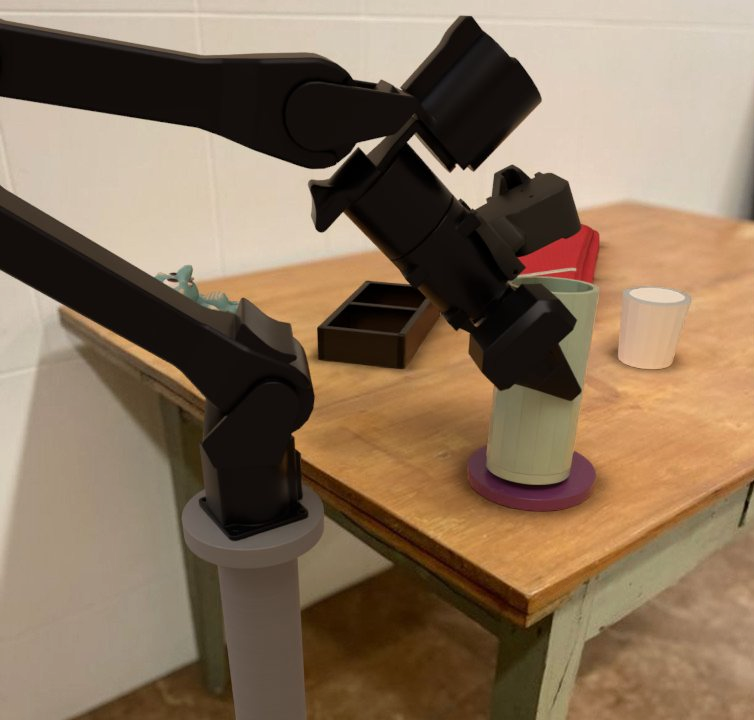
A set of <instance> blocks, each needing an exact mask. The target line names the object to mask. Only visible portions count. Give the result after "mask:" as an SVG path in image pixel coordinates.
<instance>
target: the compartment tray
mask: <svg viewBox="0 0 754 720" xmlns="http://www.w3.org/2000/svg"><path fill="white" fill-rule="evenodd" d="M440 316H441V312H440V311H439V310H438V309H437V308H436V307H435V306H434V305H433V304H432V303H431V302H430V301H429V300H428V299H427V298H426V297H425V296H424V295H423V294H422V293H421V292H420V290H419V289H418V288H417V289H416V290H415V289H414V288H413V287H412V286H411V285H410V284H409V283H399V282H387V281H375V280H365V281H364V282H363V283H362V284H361V285H360V286H359V287H358V288H357V289H356V290H355V291H354V292H353V293H351V294H350V295H349V296H348V297H347V298H346V299H345V300H344V301H343V302H342V303H341V304H340V305H339V306H338V307H337V308H336V309H334V311H333V312H332V313H331V314H329V316H328V317H326V319H324V320H323V322H321V323H320V324H319V325H318V326H317V327H316V334H317V335H316V336H317V337H316V338H317V360H318V361H319V360H320V361H329V362H338V363H347V364H356V365H363V366H365V365H366V366H374V367H382V368H383V367H384V368H391V369H393V368H394V369H399V370H401V369H402V370H404V369H406V367H407V365H408V364H409V362H410V361H411V359H412V357H413V356H414V355H415V353H416V352H417V351H418V349H419V347H420V346H421V345H422V344H423V341H424V340H425V338H426V337H427V336H428V334H429V333H430V331H431V330H432V329H433V327H434V325H435V324H436V322H437V321H438V319H439V318H440Z"/></svg>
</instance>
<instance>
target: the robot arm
mask: <svg viewBox="0 0 754 720" xmlns="http://www.w3.org/2000/svg"><path fill="white" fill-rule="evenodd" d="M0 98H5V99H13V100H19V101H25V102H31V103H38V104H44V105H50V106H57V107H63V108H68V109H69V108H70V109H75V110H82V111H88V112H94V113H100V114H107V115H112V116H113V115H114V116H121V117H126V118H131V119H133V118H134V119H138V120H145V121H151V122H158V123H164V124H170V125H177V126H183V127H189V128H194V129H195V128H196V129H199V130H202V131H205V132H207V133H211V134H213V135H216V136H219V137H222V138H224V139H226V140H228V141H231V142H234V143H236V144H238V145H241V146H243V147H245V148H247V149H249V150H252V151H254V152H258V153H259V154H260V153H261V154H263V155H266V156H268V157H272V158H275V159H277V160H280V161H284V162H286V163H288V164H291V165H295V166H298V167H301V168H304V169H308V170H324V169H328V168H332V167H335V166H336V165H337V164H339V163H340V162H341V161H342V160H344V159H345V158H346V157H347V156H348V155H349V154H350V155H349V156H348V157H347V159H345V161H343V163H342V164H341V165H340V166H339V167H338V168H337V170H336V171H335V172H334V173H333V174H331V176H330V177H329V178H327V179H314V178H311V179H309V180H308V182H307V186H308V189H309V193H310V197H311V210H310V218H311V220H312V223H313V226H314V228H315V231H317V232H318V233H325V232H327V231H328V229H329V228H330V227H331V226H333V224H334V223H335V222H336V221H337V220H338V218H339V217H340V216H341V215H342V214H344V215H345V216H346V217H347V218H348V219H349V220H350V221H351V222H352V223H353V224H354V225H355V226H356V227H357V228H358V229H359V230H360V231H361V233H362V234H364V235H365V236H366V238H367V239H369V240H370V242H371V243H372V244H374V246H375V247H376V248H377V249H378V250H379V251H380V252H381V253H382V254H383V255H384V256H385V257H386V258H387V259H388V260H389V261H390V262H391V264H393V265H394V267H396V269H398V270H399V272H400V273H401V275H402V276H403V278H404V279H405V281H406V282H407V284H410V285H411V286H412V287H413V288H414V289H415V290H416V289H417V288H418V289H419V290H420V292H421V293H422V294H423V295H424V296H425V297H426V298H427V299H428V300H429V301H430V302H431V303H432V304H433V305H434V306H435V307H436V308H437V309H438V310H439V311H440V315H441V316H442V317H443V318H444V320H445V321H446V323H448V325H449V326H450V327H451V328H453V330H454V331H455V332H458V331H459V330H462V331H464V332H467V333H468V334H469V337H468V338H469V342H468V351H467V354H468V355H469V357H470V358H471V359H472V361H473V362H474V364H475V365H476V366H477V368H478V369H479V371H480V373H481V374H482V375H483V376H484V377H485V378H486V379H487V380H488V381H489V382H490V383H491V384H492V385H493V387H494V386H495V387H496V388H497V389H498V390H499V391H503V390H507V389H510V388H511V387H512V386H513V385H514V384H516V385H519V386H523V387H527V388H530V389H533V390H537V391H540V392H543V393H546V394H549V395H552V396H555V397H558V398H561V399H564V400H567V401H572V400H574V399H575V398H576V397H577V396H578V395H579V394H580V393H581V392H582V389H581V387H580V385H579V383H578V381H577V379H576V377H575V375H574V373H573V371H572V369H571V367H570V365H569V363H568V361H567V360H566V358H565V356H564V353H563V351H562V349H561V347H560V345H559V343H560V342H561V341H562V340H563V339H564V338H565V337H566V336H567V335H568V334H569V333H570V332H572V331H573V330H574V327H575V325H576V322H577V319H576V318H575V317H574V316H573V314H572V313H571V312H570V311H569V310H568V309H567V308H566V306H565V305H564V304H563V303H562V302H561V301H560V299H558V298H557V297H556V296H555V295H554V294H553V293H552V292H551V291H549V290H548V289H547V288H546V287H545V286H544V285H543V284H542V283H537V284H521V285H520V286H519V287H518V288H517V289H516V290H515V289H514V288H513V287H512V286H511V285H510V284H509V283H508V281H509V280H510V281H513V280H514V279H515V278H516V277H517V276H518V275H519V274H520V273H521V272H522V271H523V270H524V269H525V268H526V267H525V266H524V264H523V263H522V262H521V261H520V260H519V259H518V258H517V257H523V256H526V255H529V254H531V253H533V252H535V251H537V250H539V249H541V248H543V247H545V246H547V245H549V244H551V243H553V242H555V241H557V240H559V239H561V238H564V239H568V238H570V237H572V236H574V235H575V234H577V233H578V232H579V231H580V230H581V228H582V226H581V224H582V223H581V220H580V217H579V212H578V209H577V205H576V201H575V199H574V195H573V192H572V189H571V185H570V182H569V180H567V179H565V178H564V177H562V176H559V175H557V174H555V173H553V172H545V173H542V172H541V171H538V172H536V173H534V174H533V176H534V177H532V178H531V177H530V176H529V175H528V174H527V173H525V171H523V169H521V168H520V167H518V166H517V165H515V164H510V165H508V166H505V167H503V168H502V169H500V170H498V171H496V172H494V174H493V180H492V187H491V189H492V190H491V196H489V197H486V198H485V202H486V203H484V204H482V205H481V206H479V207H477V208H476V209H474V208H471V207H470V205H468V203H466V201H465V200H464V199H462V198H459V199H457V198H456V196H455V195H454V193H452V192H451V190H449V188H448V187H447V186H446V185H445V183H444V182H443V181H442V180H441V179H440V178H439V177H438V176H437V174H436V173H435V172H434V171H433V170H432V169H431V168H430V167H429V166H428V164H427V163H426V162H425V161H424V160H423V158H422V157H421V156H420V155H419V154H418V153H417V152H416V150H415V149H414V148H413V147H412V145H410V144H409V143H408V142H409V141H411V139H412V138H413V137H414V136H415V138H417V140H419V142H420V143H421V145H423V147H424V148H425V149H426V150H427V152H429V153H430V155H431V156H432V157H433V158H434V159H435V160H436V161H437V162H438V163H439V165H440V166H442V167H443V169H444V170H446V172H448V174H451V173H452V172H453V171H454V170H456V168H457V166H458V167H459V168H460V169H461V170H462V171H465V170H467V169H469V170H470V171H471V172H473V173H474V172H476V171H477V170H478V169H479V168H480V167H481V165H483V163H484V162H485V161H486V160H487V159H488V158H490V156H491V155H492V154H493V153H494V152H495V151H496V150H497V149H498V148H499V147H500V146H501V145H502V143H504V142H505V140H507V139H508V137H510V135H511V134H513V132H514V131H515V130H516V129H518V127H519V126H520V125H521V124H522V123H523V122H524V121H525V120H526V119H527V118H528V117H529V116H530V115H531V114H532V112H534V110H535V109H536V108H538V107H539V105H540V104H541V103H542V102H543V101H542V100H543V99H542V95H541V92H540V90H539V89H538V86H537V85H536V83H535V82H534V80H533V78H532V77H531V75H530V74H529V73H528V71H527V70H526V69H525V67H524V66H523V64H522V63H521V62H520V61H519V59H517V58H516V57H514V56H510V55H509V53H508V52H507V51H506V50H505V49H504V48H503V47H502V45H500V44H499V43H498V42H497V41H496V40H495V39H494V38H493V37H492V36H491V35H490V34H489V33H487V32H486V31H485V30H483V28H482V27H481V25H479V23H478V21H476V19H475V17H473V15H458V16H457V18H456V19H455V20H454V21H453V22H452V23H451V25H450V26H449V27H448V28H447V29H446V31H445V32H444V33H443V35H442V37H441V39H440V41H439V42H438V44H437V45H436V47H435V48H434V49H433V50H432V51H431V52H430V53H429V55H427V56H426V58H425V59H423V61H422V62H421V63H420V65H419V66H418V67H417V68H416V69H415V70H414V71H413V72H412V73H411V74H410V76H408V78H407V79H406V80H405V81H404V82H403V83H402V85H401V86H400V87H399V88H398V87H396V86H395V85H394V84H392V83H390V82H388V81H386V80H384V79H381V78H380V80H379V81H378V82H372V81H367V80H360V79H353V77H352V76H351V74H350V72H348V71H347V70H346V69H345V68H344V67H343V66H341V65H340V64H338V63H337V62H335V61H333V60H331V59H329V58H328V57H327V56H323V55H321V54H318V53H316V52H308V51H307V52H305V51H304V52H303V51H302V52H301V51H300V52H257V53H255V52H253V53H238V54H237V53H236V54H235V53H234V54H197V53H192V52H186V51H180V50H176V49H169V48H163V47H159V46H153V45H146V44H142V43H136V42H131V41H124V40H118V39H114V38H109V37H102V36H95V35H90V34H84V33H79V32H73V31H68V30H62V29H56V28H51V27H45V26H39V25H34V24H29V23H22V22H17V21H11V20H6V19H3V18H0ZM381 138H383V139H382V140H381V141H380V142H379V143H378V144H377V145H376V146H374V147H373V148H372V150H370V151H369V152H368V153H367V154H366V153H365V152H364V150H362V149H361V148H360V147H359V146H357V147H356V145H357V144H360V143H363V142H368V141H372V140H373V141H374V140H376V139H381ZM355 147H356V148H355ZM354 148H355V149H354ZM353 150H354V151H353ZM456 165H457V166H456ZM0 271H1V272H3V273H4V274H6V275H8V276H10V277H11V278H13V279H15V280H18V281H19V282H21V283H23V284H24V285H26V286H28V287H30V288H32V289H34V290H35V291H37V292H39V293H41V294H43V295H44V296H45V297H48V298H50V299H51V300H53V301H55V302H57V303H58V304H61V305H62V306H64V307H66V308H68V309H70V310H72V311H73V312H75V313H77V314H79V315H81V316H83V317H84V318H86V319H88V320H90V321H92V322H93V323H96V324H97V325H98V326H101V327H103V328H104V329H106V330H108V331H110V332H112V333H113V334H116V336H118V337H121V338H123V339H124V340H126V341H128V342H129V343H131V344H133V345H135V346H137V347H139V348H141V349H142V350H144V351H146V352H148V353H150V354H151V355H154V356H155V357H157V358H158V359H161V360H163V361H164V362H166V363H168V364H170V365H171V366H173V367H175V368H176V369H177V370H179V371H180V372H181V373H182V375H184V377H185V378H186V379H187V380H188V381H189V382H190V383H191V384H192V385H193V386H194V388H196V390H197V391H198V392H199V393H200V394H201V395H202V396H203V397H204V398H205V399H204V400H205V402H204V412H203V426H202V427H203V428H202V439H201V440H199V441H198V444H199V452H200V459H201V460H200V461H201V468H202V477H203V484H204V489H205V493H206V496H205V497H202V498H200V499H199V506H200V507H201V508H202V509H203V510H204V512H205V513H206V514H207V515H208V516H209V517H210V518H211V519H212V521H213V522H214V523H215V524H216V525H217V526H218V527H219V529H220V530H221V531H222V532H223V533H224V534H225V535H226V536H227V538H228V539H229V540H231V541H239V540H242V539H245V538H248V537H251V536H254V535H257V534H260V533H263V532H266V531H269V530H273V529H276V528H279V527H282V526H285V525H288V524H291V523H294V522H297V521H300V520H304V519H306V518H308V516H309V515H308V510H307V509H306V508H305V507H304V506H303V505H302V504H301V503H300V502H299V500H301V499H302V498H303V484H304V483H303V465H302V452H300V451H299V450H298V449H296V437H295V436H294V435H293V433H295V432H297V431H298V430H300V429H301V428H302V427H303V426H304V425H305V424H306V423H307V422H308V421H309V419H310V417H311V416H312V413H313V411H314V408H315V399H316V395H315V391H314V385H313V381H312V376H311V371H310V366H309V365H310V364H309V360H308V357H307V353H306V351H305V348H304V347H303V345H302V344H301V342H300V341H299V340H298V339H297V338H296V337H295V336H294V332H293V328H292V324H291V323H290V322H286V321H279V320H277V319H275V318H273V317H270V316H269V315H267V314H266V313H265V312H263V311H262V310H261V309H260V308H259V307H258V306H256V305H255V304H254V303H253V301H250V300H249V299H247V298H245V297H241V298H240V299H239V301H240V302H239V305H238V307H237V310H236V312H235V314H233V313H228V312H223V311H218V310H213V309H210V308H207V307H204V306H202V305H200V304H198V303H196V302H195V301H193V300H191V299H190V298H188V297H186V296H185V295H183V294H181V293H180V292H178V291H176V290H175V289H173V288H171V287H170V286H168V285H166V284H164V283H163V282H161V281H159V280H158V279H156V278H154V277H155V276H153V275H151V274H149V273H148V272H146V271H144V270H142V269H141V268H139V267H138V266H136V265H134V264H132V262H129V261H128V260H126V259H125V258H122V257H121V256H119V255H117V254H116V253H114V252H112V251H111V250H109V249H108V248H106V247H104V246H102V245H100V244H99V243H97V242H96V241H94V240H92V239H90V238H89V237H88V236H85V235H84V234H83V233H80V232H78V231H77V230H75V229H73V228H72V227H70V226H69V225H67V224H65V223H64V222H62V221H60V220H58V219H56V218H55V217H54V216H51V215H50V214H48V213H46V212H45V211H43V210H42V209H40V208H38V207H37V206H35V205H33V204H32V203H30V202H28V201H26V200H25V199H23V198H21V197H20V196H18V195H16V194H14V192H11V191H10V190H8V189H6V188H5V187H4V186H2V185H1V184H0ZM503 300H504V301H503Z"/></svg>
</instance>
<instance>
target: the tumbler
mask: <svg viewBox="0 0 754 720" xmlns="http://www.w3.org/2000/svg"><path fill="white" fill-rule="evenodd" d="M508 283H509V284H510V285H511V286H512V287H513V288H514V289H515V290H516V289H517V288H518V287H519V286H520V285H521V284H537V283H542V284H543V285H544V286H545V287H546V288H547V289H548V290H549V291H551V292H552V293H553V294H554V295H555V296H556V297H557V298H558V299H560V301H561V302H562V303H563V304H564V305H565V306H566V308H567V309H568V310H569V311H570V312H571V313H572V314H573V316H574V317H575V318H576V319H577V322H576V325H575V327H574V330H573V331H572V332H570V333H569V334H568V335H567V336H566V337H565V338H564V339H563V340H562V341H561V342H560V343H559V345H560V347H561V349H562V351H563V353H564V356H565V358H566V360H567V361H568V363H569V365H570V367H571V369H572V371H573V373H574V375H575V377H576V379H577V381H578V383H579V385H580V387H581V389H582V392H581V393H580V394H579V395H578V396H577V397H576V398H575V399H574V400H572V401H567V400H564V399H561V398H558V397H555V396H552V395H549V394H546V393H543V392H540V391H537V390H533V389H530V388H527V387H523V386H519V385H516V384H514V385H513V386H512V387H511V388H510V389H507V390H503V391H499V390H498V389H497V388H496V387H495V386H494V385H493V388H492V396H491V397H492V398H491V408H490V416H489V426H488V434H487V436H488V437H487V442H486V443H487V444H486V445H487V452H486V456H487V459H486V466H487V468H488V470H489V471H490V472H491V473H493V474H494V475H496V476H498V477H500V478H503V479H505V480H508V481H512V482H516V483H522V484H531V485H547V484H554V483H558V482H561V481H563V480H565V479H567V478H568V477H569V475H570V471H571V465H572V460H573V454H574V451H575V447H576V441H577V435H578V429H579V422H580V416H581V409H582V403H583V397H584V390H585V385H586V378H587V374H588V373H587V371H588V365H589V359H590V354H591V347H592V341H593V334H594V327H595V322H596V316H597V309H598V303H599V296H600V290H601V287H600V286H598V285H596V284H595V283H588V282H584V281H580V280H574V279H567V278H558V277H543V276H526V277H516V278H515V279H514V280H513V281H510V280H509V281H508ZM503 301H504V300H503Z"/></svg>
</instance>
